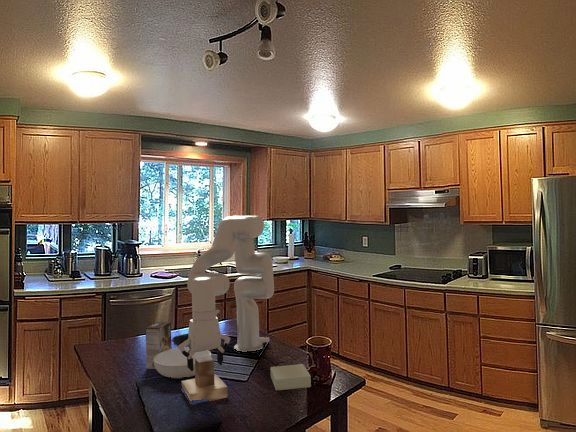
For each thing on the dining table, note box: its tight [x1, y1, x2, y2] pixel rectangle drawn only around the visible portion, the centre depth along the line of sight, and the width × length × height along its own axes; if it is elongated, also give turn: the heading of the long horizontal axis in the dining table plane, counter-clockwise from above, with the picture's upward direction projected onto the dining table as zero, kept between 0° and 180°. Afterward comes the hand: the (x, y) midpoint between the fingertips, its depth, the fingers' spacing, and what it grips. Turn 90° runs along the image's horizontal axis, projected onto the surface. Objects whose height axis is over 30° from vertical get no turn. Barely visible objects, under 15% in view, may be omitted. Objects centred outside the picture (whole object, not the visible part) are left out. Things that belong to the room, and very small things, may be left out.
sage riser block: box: [270, 363, 312, 391], centre depth 146 cm, size 12×12×4 cm
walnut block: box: [194, 356, 215, 388], centre depth 137 cm, size 5×5×8 cm
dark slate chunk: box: [171, 333, 188, 347], centre depth 200 cm, size 15×22×5 cm
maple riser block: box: [180, 373, 228, 402], centre depth 137 cm, size 12×12×4 cm
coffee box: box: [144, 321, 173, 370], centre depth 165 cm, size 9×6×16 cm
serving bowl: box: [153, 346, 212, 379], centre depth 155 cm, size 21×21×7 cm
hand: (205, 366), depth 137 cm, fingers open, 9 cm apart
